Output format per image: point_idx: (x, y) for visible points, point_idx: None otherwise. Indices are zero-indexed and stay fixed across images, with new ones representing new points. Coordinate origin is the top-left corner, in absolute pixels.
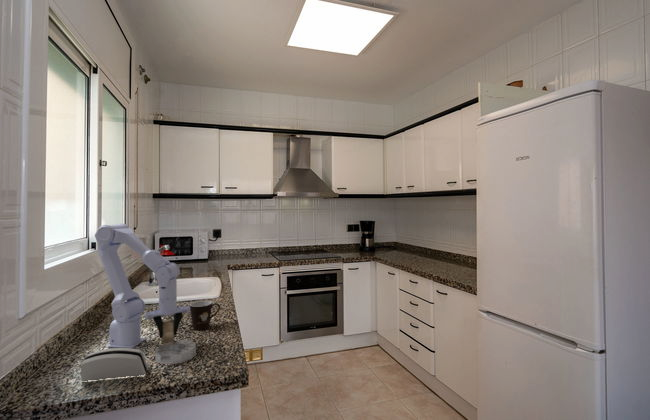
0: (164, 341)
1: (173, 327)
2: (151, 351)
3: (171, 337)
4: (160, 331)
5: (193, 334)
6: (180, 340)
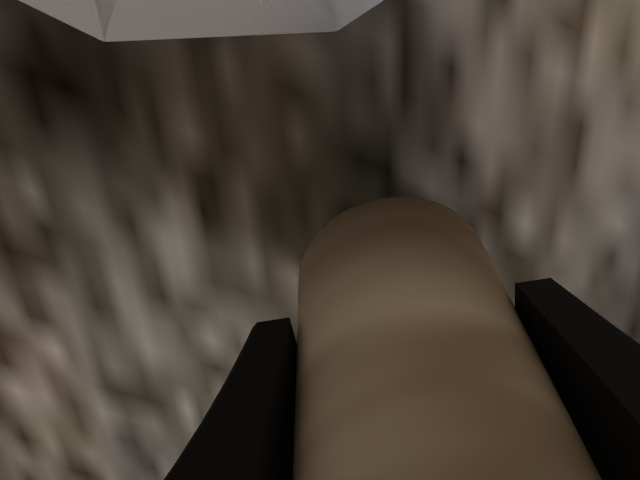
0: (457, 224)
1: (304, 451)
2: (635, 91)
3: (340, 263)
4: (626, 356)
5: (91, 447)
6: (120, 23)
